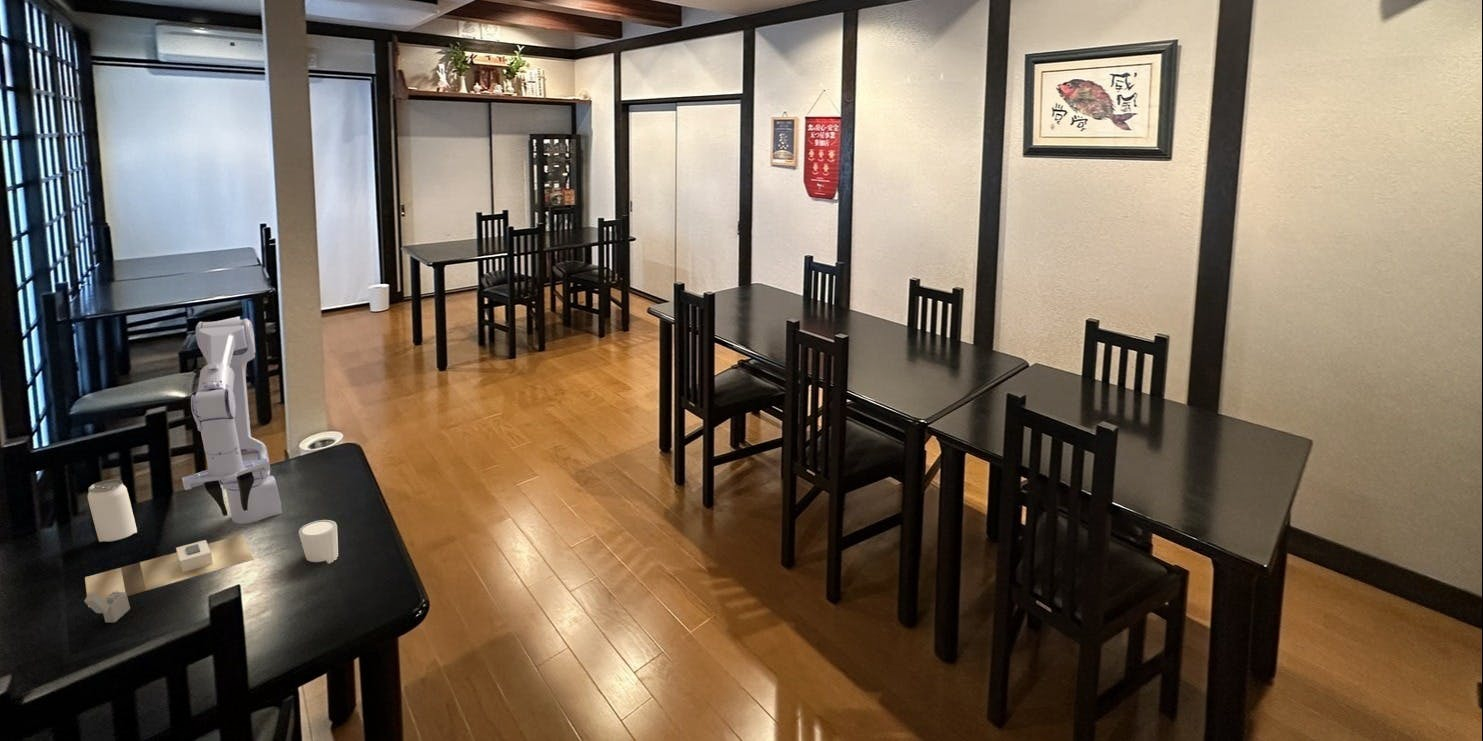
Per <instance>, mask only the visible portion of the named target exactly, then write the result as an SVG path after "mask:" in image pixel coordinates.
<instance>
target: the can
mask: <svg viewBox="0 0 1483 741" xmlns="http://www.w3.org/2000/svg"><path fill="white" fill-rule="evenodd" d="M87 489H88V490H87V491H88V493H87V500H88V504H89V508H90V512H91V513H90V514H91V517H92V520H93V524H94V528H95V531H96V535H97V539H98V541H99V543H101V542H114V541H118V540H123V539H125V538H128V537H130V536H132V535H133V534H137V533H138V528H137V526H136V525H137V524H136V521H135V516H134V513H133V508H132V503H131V499H130V496H129V492H128V488H127V487H126V485H124V483H123V481H122V480H120V479H107V480H102V481H98V482H95V483H93V484H92V485H90V486H89V487H88V488H87Z"/></svg>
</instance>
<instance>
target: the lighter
mask: <svg viewBox="0 0 1483 741" xmlns="http://www.w3.org/2000/svg"><path fill="white" fill-rule="evenodd" d="M106 600H107V601H105V600H104V599H103V598H102V597H101V596H100V595H99V594H88V596H87V595H86V597H85V598H84V600H83V601H84V603H85V604H86V605H87V607H88V606H89V608H90V609H91V610H93V611H94V612H95V614H103V618H104V622H105V623H116V622H117V621H119V619H121V618H122V617H123V616H124V615H125V614H126V613H127V612H128V611H130V609H131V606H130V602H129V598H128V596H127V594H126V592H118V591H116V592H112V593H111V594H109V595H108V596H107V597H106Z"/></svg>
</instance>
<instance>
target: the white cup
mask: <svg viewBox="0 0 1483 741" xmlns="http://www.w3.org/2000/svg"><path fill="white" fill-rule="evenodd" d="M298 536H299V539H300V542H301V545H302V549H303V552H304V556H305V559H306V561H309V562H311V563H312V562H313V563H320V562H326V563H327V564H328V565H329V564H332V563H334V562H335V561H336V560H337V559H338V558H337V557H339V541H338V525H337V523H336V521H334V520H330V519H321V520H315V521H311V522H309V523H306V524H304V525H303V526H301V527H300V528H299V530H298ZM334 560H335V561H334Z"/></svg>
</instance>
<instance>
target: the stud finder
mask: <svg viewBox="0 0 1483 741" xmlns="http://www.w3.org/2000/svg"><path fill="white" fill-rule="evenodd" d="M208 544H209V543H208V541H207V540H206V539H205V540H204V539H203V540H199V541H196V542H193V543H188V544H184V545H181V546H177V547H175V550H176V552H177V554H178V559H179V562H180V565H181V568H182V572H186V571H189V570H193V569H196V568H199V567H203V566H206V565H210V564H213V561H212V556H211V552H210V549H209V547H208Z"/></svg>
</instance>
